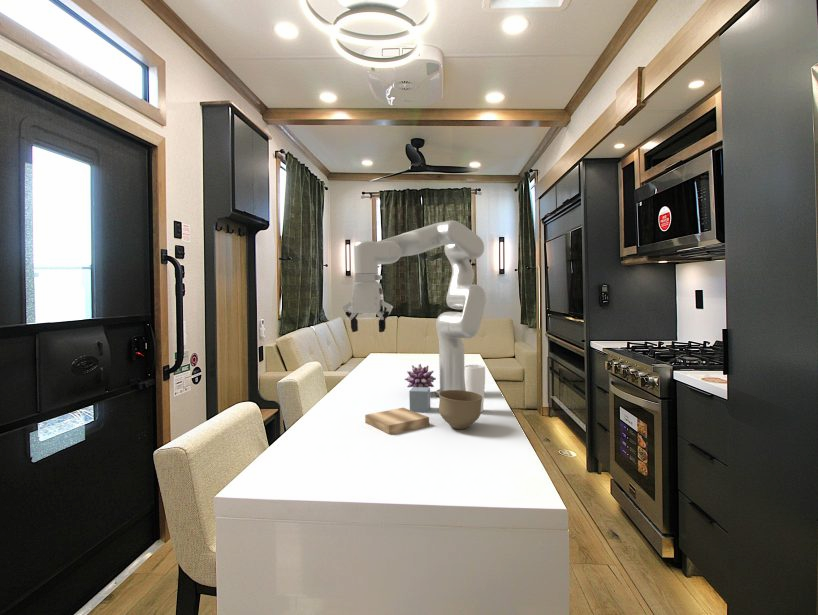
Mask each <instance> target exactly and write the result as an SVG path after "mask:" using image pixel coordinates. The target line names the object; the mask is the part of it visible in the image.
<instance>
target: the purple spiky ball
mask: <svg viewBox="0 0 818 615" xmlns="http://www.w3.org/2000/svg"><path fill="white" fill-rule="evenodd" d="M429 367H430V366H429V365H426V366H423V367H422V364H421V363H419V364H418V365H417V366H414V364H413V365H411V368H412V370H411V371H410V370H407V371H406V373H407V374H408V376H407V377H405V379H404V381H407V383H408V384H407V386H406V387H407V388H412V387H427V388H434V387H435V385H434V384H433V383H434V381H435V380H437V378H436V377H434V376H432V374H433V373H434V370H431V371H429Z"/></svg>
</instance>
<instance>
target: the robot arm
mask: <svg viewBox="0 0 818 615" xmlns="http://www.w3.org/2000/svg"><path fill="white" fill-rule="evenodd" d="M442 246H444V254H445V256H446V257H447V259H448V261H449V263H450V266H451V277H450V281H449V285H448V290H447V293H446V302H445V303H446V304H447V306H448V307H449V308H450V309H454V310H462V311H461V312H459V311H445V312H442V313H440V315H438V316H437V319H436V322H435V328H436V334H437V338H438V358H439V359H438V360H439V361H438V363H439V366H438V368H439V369H438V370H439V372H438V373H439V388H438V389H437V390H436V391H435V395H436V396H437V397H440V396H439V393H440V392H442V391H446V390H462V391H466V389H465V379H464V368H465V346H464V342H463V340H462V339H472V338H474V337H476V336H477V335H478V333H479V331H480V328H481V324H482V320H483V315H484V311H485V307H486V301H487V298H486V292H485V290H484V288H483V287H482V286H481V285H478V284H475V283H473V282H474V279H475V272H474V267H473V265H472V264H471V262H470V260H476V259H479V258H480V257H482V255H483V254H484V252H485V244H484V241H483V240H482V238H481V237H480V236H479V235H478V234H477V233H475V232H474V231H473V230H472V229H470V228H468V227H467V226H466V225H464V224H463V223H461V222H460V221H457V220H445V221H441V222H436V223H432V224H430V225H425V226H423V227H421V228H417V229H414V230H410V231H407V232H403V233H401V234H398V235H394V236H391V237H388V238H385V239H382V240H378V241H373V240H362V241H356V242H354V245H353V255H354V256H353V257H354V258H353V262H354V263H353V264H354V283H353V285H352V292H351V301H350V302H349V303H347V304H345V305H343V306H342V309H343V311H344V313H345V315H346V316H347V317H348V319H349V320H350V329H351V332H352V333H355V332H358V331H359V324H358V319H357V317H358V316H359V315H377V317H378V318H379V319H378V332H379V333H383V332H385V331H386V320H387V319H388V317H389V316H390V314H391V312H392V310H393V305H391V304H390V303H388V302H386V301H385V300H384V292H383V288H382V283H379V282H380V280H383V279H382V278H383V276H382V275H379V271H378V270H379V269H378V268H379V266H378V265H390V264H394V263H396V262H398V261H399V260H400V258H403V257H409V256H410V257H411V256H416V255H419V254H420V255H421V254H423V253H425V252H428V251H431V250H434V249H437V248H439V247H442ZM350 308H351V311H350ZM385 308H386V309H385ZM385 310H386V311H385ZM384 311H385V312H384Z"/></svg>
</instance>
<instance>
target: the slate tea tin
mask: <svg viewBox="0 0 818 615" xmlns="http://www.w3.org/2000/svg"><path fill="white" fill-rule="evenodd" d="M408 395H409V410H411V411H414V412H417V413H429V411H430V410H431V387H429V388H427V387H411V389H410V390H409V394H408Z"/></svg>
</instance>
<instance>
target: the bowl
mask: <svg viewBox="0 0 818 615" xmlns="http://www.w3.org/2000/svg"><path fill="white" fill-rule="evenodd" d="M438 397H439V404H438V412H439V414H440V416H441V418H442V419H443V420H444V421H445V422H446V423H447V424H448V426H450V427H451V428H453V429H457V430H465V429H467V428H469V426H471V425H473V423H474V424H475V423H476V422H477V420H478V419H479V418H480V417H481V414H482V412H481V401H482V396H481V395H479V394H477V393H474V392H469V391H462V390H446V391H442V392H440V393H439V396H438Z"/></svg>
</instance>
